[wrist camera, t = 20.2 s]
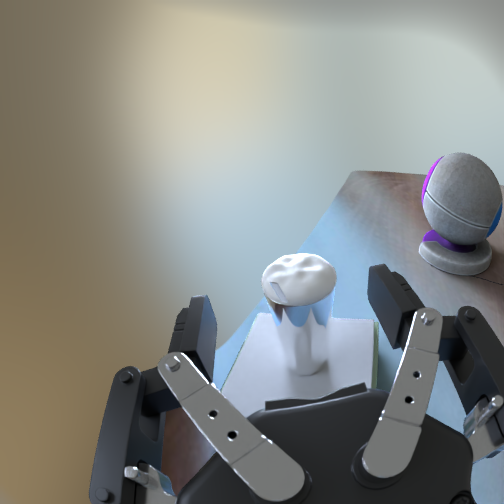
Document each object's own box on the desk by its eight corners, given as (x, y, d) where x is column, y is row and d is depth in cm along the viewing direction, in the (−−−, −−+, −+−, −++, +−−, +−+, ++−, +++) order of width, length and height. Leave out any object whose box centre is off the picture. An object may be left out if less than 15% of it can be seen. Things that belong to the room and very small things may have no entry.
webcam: (437, 225, 41) (441, 142, 34) (497, 249, 31) (511, 158, 24) (404, 253, 36) (408, 151, 29) (477, 288, 26) (500, 173, 19)
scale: (213, 430, 20) (199, 411, 18) (258, 334, 29) (251, 308, 27) (363, 455, 15) (372, 439, 13) (374, 342, 25) (379, 315, 23)
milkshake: (262, 381, 20) (234, 275, 15) (291, 334, 23) (276, 230, 19) (319, 398, 17) (317, 289, 12) (341, 344, 21) (343, 235, 16)
